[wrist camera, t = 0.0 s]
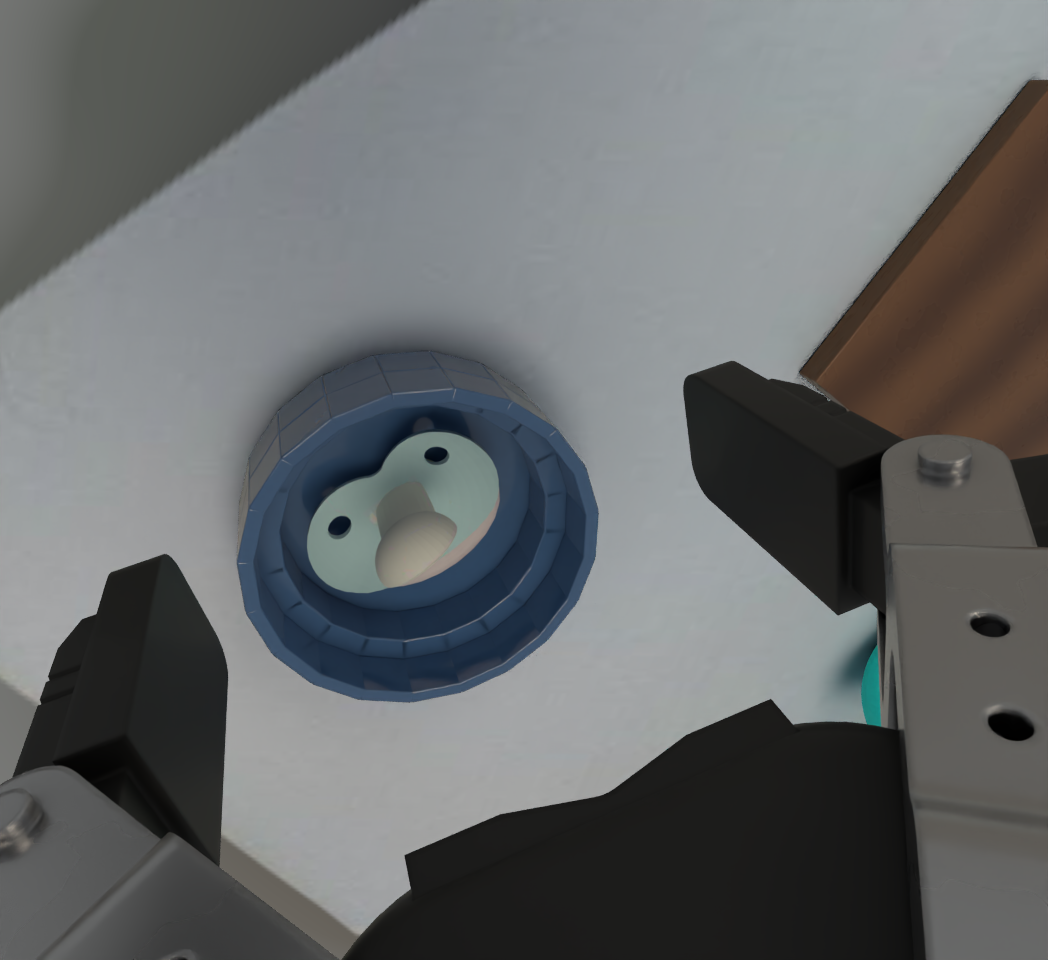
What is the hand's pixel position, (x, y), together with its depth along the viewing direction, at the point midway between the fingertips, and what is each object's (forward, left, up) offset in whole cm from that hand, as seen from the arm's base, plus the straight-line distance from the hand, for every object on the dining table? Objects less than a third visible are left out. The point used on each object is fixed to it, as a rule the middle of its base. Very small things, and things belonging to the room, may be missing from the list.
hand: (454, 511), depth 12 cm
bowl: (+6, -6, -16) cm, 19 cm away
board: (+25, +14, -16) cm, 33 cm away
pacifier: (+6, -6, -16) cm, 18 cm away
